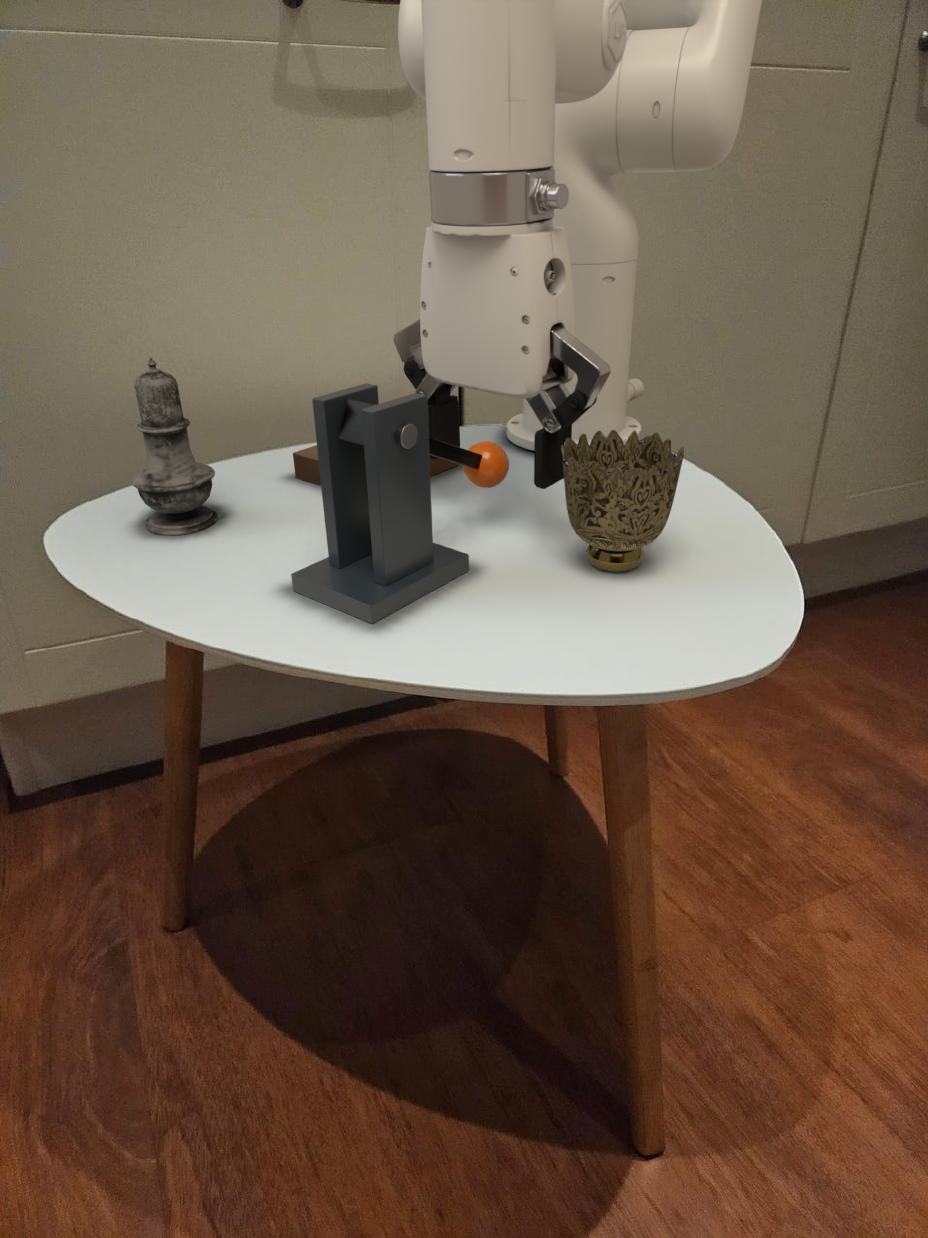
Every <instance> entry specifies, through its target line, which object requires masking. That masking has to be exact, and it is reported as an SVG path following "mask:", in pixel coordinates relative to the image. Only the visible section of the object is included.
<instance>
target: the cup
mask: <svg viewBox="0 0 928 1238" xmlns="http://www.w3.org/2000/svg"><path fill="white" fill-rule="evenodd" d="M561 451H562V458H563V471H564V479H563V483H564V493H565V495H564V496H565V503H566V504H565V505H566V512H567V515H568V520H569V522H570V525H571V528H572V530H573V532H574V533H575V534H576V535H577V536H578V537H579V539H580V540H581V541H583V542H584V543H585V544H587V547H586V555H587V558H588V561H589V562H590V563H591V565H592V566H594V567H595V568H598V569H600V570H602V571H606V572H607V571H608V572H613V573H614V572H617V573H618V572H626V571H629V570H632V569H635V568H636V567H638V566H639V565H640V563H641V561H642V560H643V557H644V555H645V551H644V547H646V546H648V545H650V544H652V543H653V542H654V541H655V540H656V539H658V538H659V536H660V535H661V534H662V532H663V531H664V529H665V527H666V525H667V522H668V521H669V518H670V515H671V512H672V508H673V505H674V504H673V503H674V500H675V496H676V492H677V488H678V482H679V479H680V474H681V470H682V465H683V461H684V457H685V448H684V446H682V447H680V448H679V450H678V451H677V453H673V452H672V440H671V439H670V438H667V439H665V440H664V441H663V439H662V437H661V435H660V433H659V432H652V433H650V434H649V435H646V436H645V437H644V438H643V439H640V440H639V436H638V435H637V432H636V431H635V430H634V431H633V432H632V433H631V434H630V435H629V436H628V440H627V442H626V444H625V445H624V444H623V440H622V438H620V436H619V434H618V433H617V432H616V431H615V430H612V431H610V433H609V435H608V437H605V435H604V434H603V433H602V432H601V431H598V432H596V434H595V435H594V437H593V438H592V440H591V443H590V446H589V444H588V440H587V437H586V434H582V435H581V436H580V437H579V442H578V444H576V443H575V442H574V441H573V440H572V439H571V438H567V439H566V440H565V443H564V446H563V445H561Z"/></svg>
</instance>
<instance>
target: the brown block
mask: <svg viewBox="0 0 928 1238" xmlns="http://www.w3.org/2000/svg"><path fill="white" fill-rule="evenodd" d="M292 458H293V465H294V466H293V467H294V474H295V476H294V477H295V479H299V480H302V481H305V482H309V483H311V484H314V485H318V486H321V479H320V469H319V460H318V450H317V444H316V445H313V446H309V447H306V448H303V449H301V450H298V451H293V452H292ZM459 465H460V464H457V463H454V462H451V461H448V460H445V459H441V458H437V459H430V477H433V476H435V475H438V474H440V473H442V472H444V471H448V470H450V469H453V468H454V467H457V466H459Z"/></svg>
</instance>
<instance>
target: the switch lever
mask: <svg viewBox="0 0 928 1238" xmlns="http://www.w3.org/2000/svg"><path fill="white" fill-rule="evenodd" d="M374 405H375V404H370V403H366V402H361V401H356V400H352V399H348V400H347V404H346V408H345V412H344V416H343V420H342V424H341V428H340V433H339V437H338V439H339V440H341V441H345V442H348V443H351V444H355V445H358V446H362V447H364V438H363V425H362V412H361V410H362V409H365V408H368V407H371V406H374ZM429 455H432V456H435V457H438V458H441V459H445V460H448V461H451V462H454V463H457V464H459V465H460V466H463V470H464V474H465V476H466V477H467V479H468V481H470V482H471V483H472V484H473V485H474V486H476V487H479V488H483V489H484V488H486V489H489V488H494V487H495V486H498V485H499V484H501V483H502V482H503V481H504V480H505V478H507V475H508V472H509V469H510V460H509V456H508V454H507V452H506V450H505V449H504V448H503V447H502V446H501V445H500V444H498V443H497V442H495V441H490V440H489V441H488V440H483V441H479V442H477V443H474V444H473V445H472V446H471V447H469V449H465V448H463V447H461V446H460V447H457V446H454V445H451V444H448V443H445V442H442V441H439V440H436V439H433V438H431V437H429Z"/></svg>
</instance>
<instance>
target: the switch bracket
mask: <svg viewBox="0 0 928 1238" xmlns="http://www.w3.org/2000/svg"><path fill="white" fill-rule="evenodd" d="M348 399H352V400H356V401H361V402H366V403H370V404H375V405H374V406H371V407H368V408H365V409H362V410H361V412H362V425H363V438H364V447H362V446H358V445H355V444H351V443H348V442H345V441H341V440H339V439H338V437H339V433H340V428H341V424H342V420H343V416H344V412H345V408H346V404H347V400H348ZM311 401H312V409H313V419H314V431H315V438H316V439H315V440H316V445H317V450H318V460H319V469H320V479H321V485H320V487H321V496H322V497H321V498H322V505H323V506H322V507H323V517H324V525H325V527H324V528H325V533H326V534H325V535H326V537H325V538H326V544H327V545H326V547H327V554H328V555H327V556H328V557H325V558H323V559H321V560H319V561H317V562H314V563H312V564H310V565H308V566H306V567H304V568H301V569H299V570H296V571H294V572H292V573H290V574H291V575H290V576H291V585H292V591H293V592H295V593H298V594H299V595H303V596H304V597H308V598H309V599H312V600H314V601H317V602H320V603H321V604H324V605H326V606H328V607H331V608H334V609H336V610H338V611H340V612H343V613H345V614H348V615H350V616H353V617H354V618H357V619H360V620H362V621H364V622H366V623H369V624H374V623H376V622H378V621H381V620H382V619H383V618H385V617H388V616H389V615H391V614H393V613H394V612H396V611H398V610H400V609H402V608H403V607H405V606H407V605H409V604H411V603H413V602H415V601H416V600H418V599H420V598H421V597H424V596H425V595H428V594H429V593H430V592H431V593H432V592H433V591H435V590H437V589H438V588H440V587H442V586H444V585H446V584H447V583H449V582H451V581H453V580H455V579H457V578H458V577H460V576H463V574H465V573H467V572H469V571H470V558H469V557H470V554H469V553H466V552H463V551H460V550H457V549H454V548H451V547H448V546H444V545H442V544H439V543H435V542H434V536H433V511H432V490H431V489H432V486H431V476H430V455H429V429H428V402H427V395H422V394H417V393H415V392H414V393H411V394H407V395H404V396H401V397H398V398H394V399H391V400H388V401H385V402H381V403H379V401H380V400H379V387H378V385H377V384H372V383H368V382H367V383H366V382H365V383H362V384H358V385H354V386H350V387H348V388H344V389H339V390H337V391H333V392H329V393H327V394H323V395H320V396H315V397H313V398H311Z"/></svg>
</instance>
